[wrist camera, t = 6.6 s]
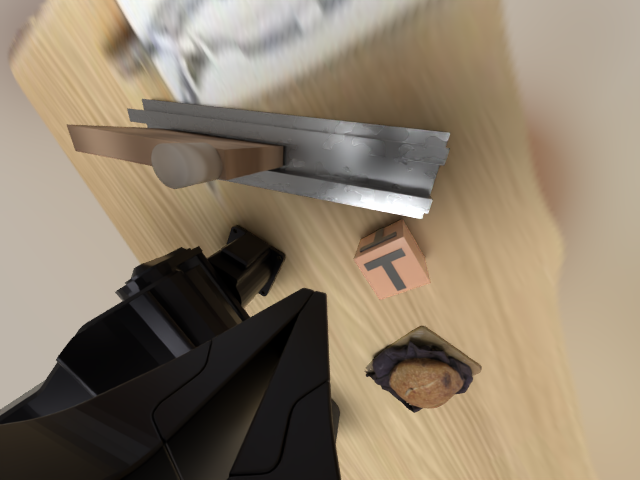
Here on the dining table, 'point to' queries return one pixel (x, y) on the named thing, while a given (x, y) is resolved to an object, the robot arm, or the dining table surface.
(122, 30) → the dining table surface
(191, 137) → the screen
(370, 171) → the track
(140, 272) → the robot arm
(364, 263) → the lettered cube
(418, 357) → the bread roll
